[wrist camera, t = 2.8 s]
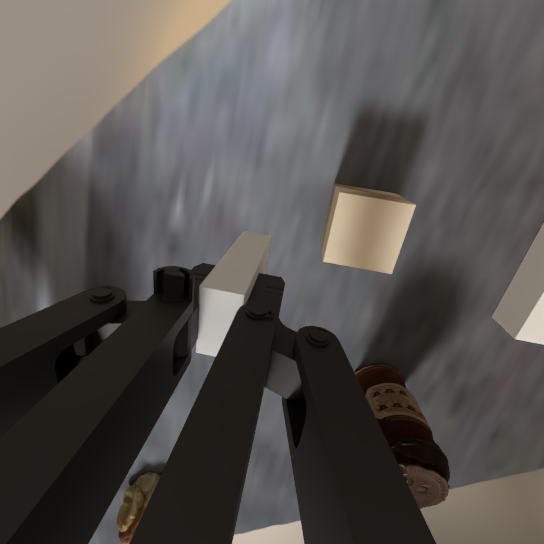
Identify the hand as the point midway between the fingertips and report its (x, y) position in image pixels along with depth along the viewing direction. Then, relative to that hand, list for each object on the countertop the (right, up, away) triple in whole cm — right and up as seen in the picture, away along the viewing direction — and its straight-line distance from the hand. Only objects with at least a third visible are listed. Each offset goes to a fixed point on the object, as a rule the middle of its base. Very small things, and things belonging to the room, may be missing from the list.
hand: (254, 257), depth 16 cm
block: (+10, +5, +14) cm, 17 cm away
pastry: (-20, -42, +39) cm, 61 cm away
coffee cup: (+14, -15, +22) cm, 30 cm away
